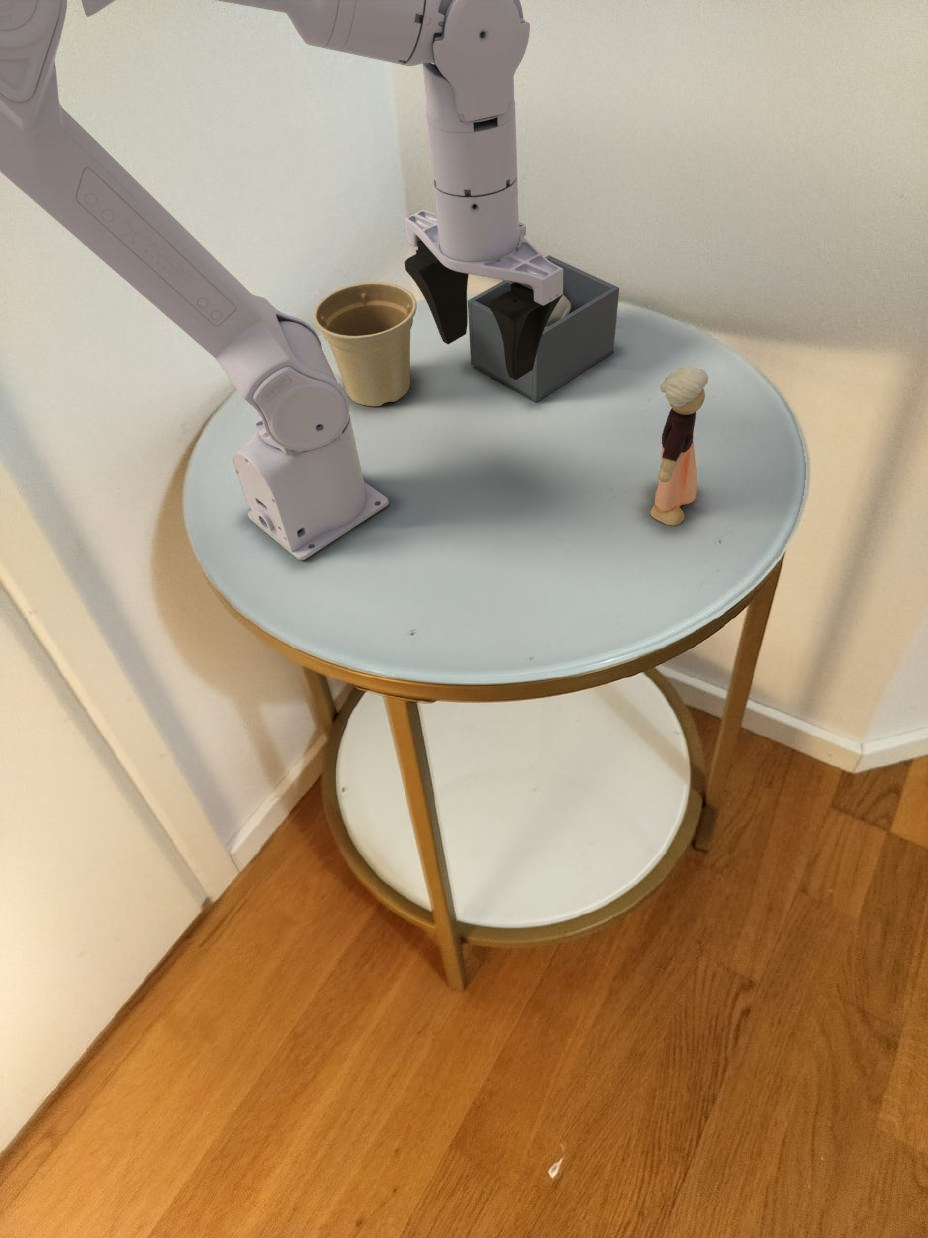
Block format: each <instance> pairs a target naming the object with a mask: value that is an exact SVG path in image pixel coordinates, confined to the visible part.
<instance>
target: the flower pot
mask: <svg viewBox="0 0 928 1238" xmlns="http://www.w3.org/2000/svg"><path fill="white" fill-rule="evenodd" d="M417 305H418V304H417V300H416V298H415V296H414V294H413V293H412V292H411V291H410V290H409V289H406V288H405V287H403V286H400V285H397V284H394V283H389V282H383V281H381V282H380V281H368V282H367V281H365V282H359V283H353V284H349V285H346V286H343V287H340V288H338V289H335V290H333V291H331V292H330V293H328V294H326V296H324V297H322V298H321V300H320V301H319V302H318V303H317V304H316V305H315V307H314V309H313V315H312V320H313V322H314V323H313V324H314V325H315V326H316V327H315V328H317V329H318V330H319V331H320V332H321V333H322V336H323V339H325V341H326V342H327V343H328V346H329V348H330V350H331V353H332V356H333V358H334V362H335V363H336V366H337V368H338V372H339V374H340V376H341V378H342V382H343V385H344V388H345V392H346V394H347V396H348V397H349V398H350V400H352V401H353V402H354V403H357V404H359V405H361V406H367V407H380V406H382V405H383V404H386V403H389V402H393V403H395V402H397V401H399V400H400V399H401V398H403V397H404V396H405V395H406V394H407V393H408V391H409V390H410V386H411V379H410V378H411V376H410V375H411V373H410V371H411V369H410V368H411V361H410V360H411V329H412V328H413V327H412V326H413V323H414V317H415V314H416V313H417Z"/></svg>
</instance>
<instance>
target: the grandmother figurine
mask: <svg viewBox="0 0 928 1238" xmlns="http://www.w3.org/2000/svg"><path fill="white" fill-rule="evenodd" d="M708 382H709V374H708V373H707V371H705V370H704V369H702V368H698V367H695V366H686V367H680V368H677V369H676V370H674V371H672V372H671V373H670V374H669V375H668V376H667V377H665V379H664V380H663V381H662V382H661V384H660V385H659V390H660V391H661V392H662V393H665V398H666V400H667V401H668V403H669V406H670V408H671V409H670V411H669V412H668V415H667V418H666V421H665V424H664V426H663V431H662V434H661V462H660V469H659V471H658V473H657V478H658V486H657V489H656V490H655V492H654V498H655V499H654V505H653V506H652V507H651V509H650V512H649V514H650V516H651V518H653V519H655V520H656V521H659V522H661V523H663V524H665V525H667V526H673V527H674V526H679V525H680V524H682V523H683V521H684V519H685V512H684V511H683V510H682V508H681V506H683V505H689V504H691V503H693V502H694V501H695V499H697V492H698V491H697V490H698V470H697V469H698V468H697V460H696V450H695V449H696V448H695V443H694V442H695V441H694V432H695V426H696V419H697V412H698V411H699V410H700V409H701V408H702V406H703V405H704V402H705V398H706V393H705V389H704V388H705V386H706V385H707V384H708Z"/></svg>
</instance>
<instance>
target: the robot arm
mask: <svg viewBox="0 0 928 1238" xmlns="http://www.w3.org/2000/svg"><path fill="white" fill-rule="evenodd" d="M215 1H217V2H223V3H229V4H234V5H239V6H245V7H251V8H255V9H256V8H257V9H263V10H267V11H272V12H279V13H283V14H286V15H287V17H288V19H289V20H290V22H291V23H292V25H293V27H294V28H295V30H296V32H297V33H298V35H299V37H300V38H301V39H302V40H303V42H304V43H305V44H306V45H308V46H312V47H316V48H322V49H326V50H330V51H335V52H341V53H344V54H350V55H355V56H359V57H363V58H368V59H373V60H377V61H383V62H386V63H392V64H396V65H401V66H406V67H414V66H419V65H422V73H423V83H424V84H423V85H424V93H425V102H426V103H425V114H426V126H427V127H426V128H427V137H428V144H429V154H430V156H429V157H430V163H431V165H430V166H431V173H432V181H433V182H432V185H433V194H434V203H435V212H433V211H428V210H426V209H421V210H419V211H417V212H415V213H413V214H410V215H409V216H407V217H405V218H404V220H403V222H404V228H405V236H406V237H405V238H406V243H407V244H408V245H410V246H413V247H417V249H416V250H415V254H413V255H411V256H408V258H406V259H405V260H404V270H405V272H406V273H407V274H408V275H409V276H410V278H411V279H412V280H413V282H414V283H415V284H416V286H417V287H418V289H419V291H420V292H421V294H422V296H423V298H424V300H425V302H426V304H427V307H428V308H429V311H430V313H431V315H432V317H433V321H434V322H435V323H434V324H435V325H436V328H437V330H438V333H439V336H440V338H441V340H442V342H443V343H444V344H446V345H450V344H453V343H454V342H456V341H457V340H459V339H460V338H462V337H464V336H466V335H467V333H468V332H467V331H468V324H469V316H468V285H469V275H473V276H478V277H484V278H485V277H486V278H490V279H496V280H501V281H505V282H507V283H510V288H511V291H510V292H506V293H504V294H503V295H501V296H499V297H497V298H496V299H494V300H492V301H490V302H489V308H490V310H491V311H492V313H493V315H494V317H495V319H496V321H497V323H498V326H499V329H500V332H501V336H502V340H503V345H504V354H505V363H506V369H507V372H508V375H509V377H510V378H512V379H514V380H517V379H519V378H520V377H522V376H524V375H525V374H527V373H528V372H530V371H532V370H533V367H534V362H535V358H536V354H537V350H538V347H539V343H540V340H541V337H542V334H543V331H544V329H545V326H546V324H547V322H548V320H549V318H550V316H551V314H552V312H553V310H554V308H555V307H556V305H557V303H558V302H559V300H560V299H561V297H562V295H563V292H564V285H563V268H561V267H559V266H557V265H555V264H553V263H552V262H550V261H549V260H547V259H546V258H545V257H546V256H544V255H543V254H542V253H541V252H540V251H539V250H538V249H537V248H536V246H534V245H533V244H531V242H530V241H528V240H527V239H526V237H525V236H526V235H527V225H526V224H525V223H523V222H521V221H520V220H519V217H520V216H519V190H518V189H519V188H518V154H517V153H518V151H517V119H516V100H515V79H514V78H515V77H514V76H515V73H516V71H517V69H518V67H519V66H520V64H521V63H522V61H523V58H524V56H525V54H526V51H527V48H528V44H529V40H530V39H529V38H530V32H531V26H530V25H531V24H530V22H529V21H526V20H525V19H524V14H523V13H524V12H523V6H522V3H521V1H520V0H215ZM114 2H116V0H81V4H82V7H83V11H84V13H85V16H86V17H87V18H90V17H92V16H94V15H95V14H97V13H99V12H101V11H102V10H103V9H105V8H106V7H108V6H110V5H111V4H112V3H114ZM67 9H68V0H0V173H1V174H2V175H3V176H4V177H6V178H7V180H9V181H10V182H11V183H12V184H14V186H16V187H17V188H18V189H20V190H21V191H22V192H23V193H24V194H25V195H26V196H28V198H29V199H31V200H32V201H33V202H34V203H35V204H36V205H38V206H39V207H40V208H41V209H43V211H45V212H46V213H47V214H48V215H49V216H50V217H52V218H53V220H55V221H56V222H57V223H58V224H60V225H61V226H62V227H63V228H64V229H66V230H67V231H68V232H69V233H70V234H71V235H72V236H74V238H76V239H77V240H78V241H79V242H80V243H82V245H84V246H85V247H86V248H87V249H88V250H90V251H91V252H92V253H93V254H94V255H95V256H97V257H98V259H100V260H101V261H102V262H104V263H105V264H106V265H107V266H108V267H109V268H111V269H112V270H113V271H114V272H115V273H116V274H118V276H119V277H121V278H122V279H123V280H124V281H125V282H126V283H128V284H129V285H130V286H131V287H132V288H133V289H135V290H136V291H137V292H138V293H139V294H141V296H143V297H144V298H145V299H146V300H147V301H148V302H149V303H150V304H152V305H153V306H154V307H155V308H156V309H158V310H159V311H160V312H161V313H163V314H164V316H166V317H167V318H168V319H169V320H170V321H172V322H173V323H174V325H176V326H177V327H179V329H181V330H182V331H183V332H184V333H185V334H186V335H188V336H189V337H190V338H191V339H192V340H193V341H194V342H196V343H197V344H198V345H199V346H201V348H203V349H204V350H205V351H206V352H207V353H208V354H210V355H211V356H212V357H213V358H214V359H215V360H216V362H217V363H218V364H219V366H220V367H221V369H222V370H223V371H224V373H225V374H226V376H227V377H228V379H229V380H230V382H231V383H232V384H233V386H234V387H235V389H236V390H237V392H238V393H239V395H240V396H241V397H242V398H243V400H245V401H246V402H247V403H248V404H249V405H250V406H252V407H253V408H254V409H255V410H256V412H257V416H256V417H255V425H256V430H255V432H254V434H253V435H252V437H251V438H250V439H249V441H248V442H247V443H246V444H245V445H243V446H242V447H241V448H240V449H239V450H238V451H237V452H235V454H234V455H233V459H232V460H233V467H234V470H235V474H236V476H237V478H238V479H237V480H238V482H239V484H240V488H241V490H242V493H243V495H244V499H245V501H246V504H247V507H248V510H249V511H248V512H247V516H248V518H249V520H251V522H252V523H254V524H255V525H256V526H257V527H259V528H260V529H261V530H262V531H264V533H266V534H267V535H268V536H270V537H271V538H272V539H273V540H274V541H275V542H276V543H277V544H279V545H280V546H282V547H283V549H285V550H286V551H287V552H289V554H291V555H292V557H294V558H295V559H297V560H299V561H304V560H306V559H308V558H310V557H311V556H313V555H314V554H316V553H317V552H319V551H320V550H322V549H323V548H325V547H326V546H328V545H330V544H331V543H332V542H334V541H336V540H338V538H340V537H342V536H343V535H345V534H346V533H349V531H351V530H352V529H354V528H356V527H357V526H358V525H360V524H362V523H363V522H365V521H366V520H368V519H369V518H370V517H371V518H372V516H374V515H375V514H377V513H378V512H380V511H381V510H383V509H384V508H386V507H387V506H389V504H390V502H389V498H388V497H387V496H385V495H383V494H382V493H381V492H379V491H378V490H377V489H375V488H374V487H373V486H371V485H370V484H368V483H367V482H365V480H364V476H363V471H362V466H361V461H360V457H359V451H358V447H357V443H356V438H355V434H354V429H353V425H352V418H351V415H350V403H349V399H348V395H347V393H346V391H345V390H344V389H343V387H342V386H341V384H340V383H339V382H338V380H337V378H336V376H335V374H334V371H333V369H332V367H331V365H330V363H329V360H328V358H327V357H326V354H325V352H324V350H323V347H322V346H323V345H322V342H321V340H320V337H319V336H318V333H317V332H316V330H315V329H314V327H312V326H311V325H310V324H308V323H307V322H306V320H305V321H304V320H303V319H302V318H301V319H300V318H298V317H297V316H296V317H295V316H293V315H289V314H286V313H284V312H282V311H281V310H279V309H277V308H276V307H275V306H273V305H272V303H271V302H269V300H267V299H266V298H265V297H262V296H259V295H255V294H253V293H251V292H250V291H249V290H248V289H247V288H246V287H245V285H243V284H242V283H241V281H239V280H238V279H237V277H235V276H234V275H233V274H232V273H231V272H230V271H229V270H228V269H227V268H226V267H225V266H224V265H223V264H222V263H221V262H220V261H219V260H218V259H217V258H216V257H215V256H214V255H212V253H211V252H210V251H209V250H208V249H207V248H206V247H205V246H204V245H203V244H202V243H201V242H200V241H198V240H197V238H196V237H195V236H194V235H192V233H191V232H189V231H188V230H187V229H186V228H185V227H184V225H182V223H180V222H179V221H178V220H177V218H175V217H174V216H173V214H172V213H170V212H169V211H168V210H167V209H166V208H165V207H164V206H163V205H162V204H161V203H160V202H159V201H158V200H157V199H156V198H155V197H154V196H153V195H152V194H151V193H150V192H149V191H147V189H146V188H145V187H144V186H143V185H142V184H141V183H140V182H139V181H138V180H137V179H136V178H135V177H134V176H133V175H131V173H129V172H128V171H127V169H126V168H124V167H123V165H122V164H121V163H119V162H118V161H117V160H116V159H115V158H114V157H113V155H111V154H110V153H109V152H108V151H107V150H106V149H105V148H104V147H103V146H102V145H101V144H100V143H99V142H98V140H96V139H95V138H94V137H93V136H92V135H91V134H90V133H89V132H88V131H87V130H86V129H85V128H84V127H83V126H82V125H81V124H80V123H79V122H78V121H76V119H74V117H73V116H71V114H70V113H69V112H68V111H66V110H65V109H64V108H63V106H62V105H61V103H60V99H59V88H58V78H57V77H58V76H57V69H56V62H55V61H56V57H57V53H58V49H59V45H60V42H61V38H62V34H63V29H64V24H65V20H66V16H67Z"/></svg>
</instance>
